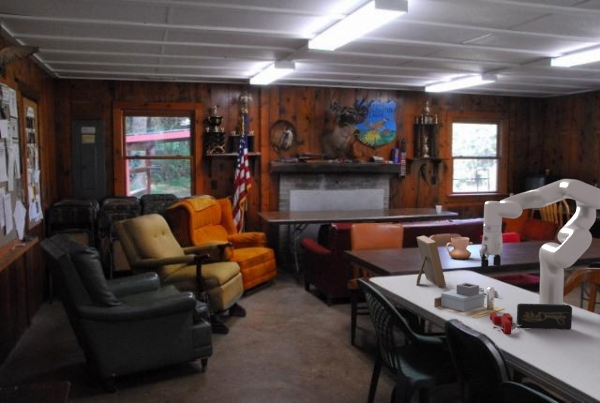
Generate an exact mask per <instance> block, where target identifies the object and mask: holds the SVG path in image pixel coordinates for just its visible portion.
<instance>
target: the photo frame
mask: <svg viewBox="0 0 600 403" xmlns="http://www.w3.org/2000/svg"><path fill="white" fill-rule="evenodd" d="M416 241H417V245H418V250H419V253H420V254H419V255H420V260H421V263H422V264H421V267H420V270H419V272H418V275H417V278H416V279H417V280H416V286H418V285H419V284H420V283H421V279H422V275H423V272H424V276H425V279H427V280H428V281H429V282H431V283H432V284H433V285H434V286H436V287H437V288H440V287H441V288H442V287H445V286H447V284H446V283H447V282H446V280H445V274H444V270H443V267H442V266H443V265H442V262H441V258H440V257H441V256H440V253H439V252H440V251H439V249H438V244H437V241H436V240H434V239H432V238H430V237H428V236H426V235H421V236H416Z"/></svg>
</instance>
